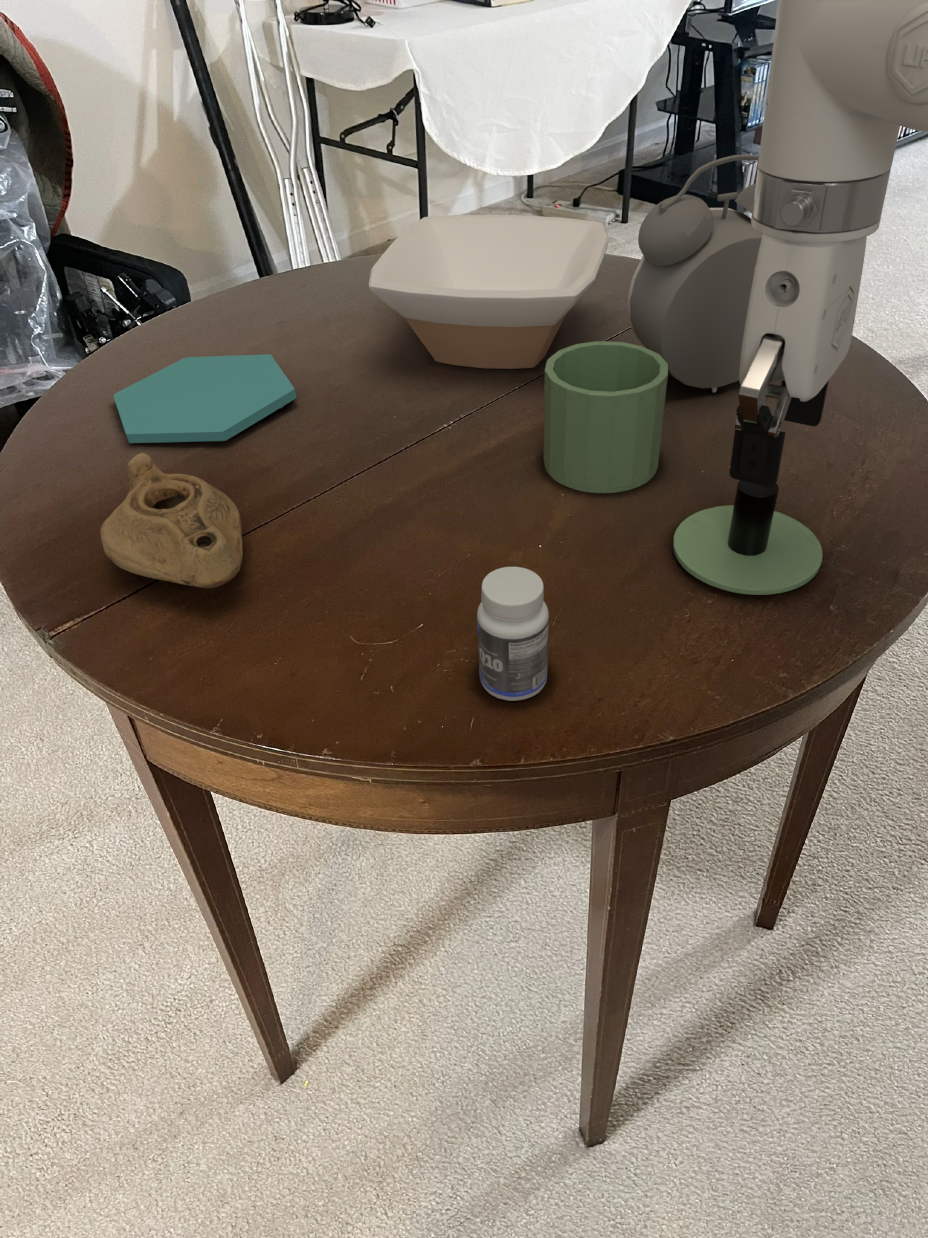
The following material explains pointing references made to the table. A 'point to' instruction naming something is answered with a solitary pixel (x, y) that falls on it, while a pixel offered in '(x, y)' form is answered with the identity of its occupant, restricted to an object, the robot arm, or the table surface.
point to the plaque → (203, 399)
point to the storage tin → (603, 415)
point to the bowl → (489, 283)
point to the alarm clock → (696, 283)
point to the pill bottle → (513, 634)
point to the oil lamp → (174, 528)
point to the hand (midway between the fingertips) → (776, 449)
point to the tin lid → (748, 545)
